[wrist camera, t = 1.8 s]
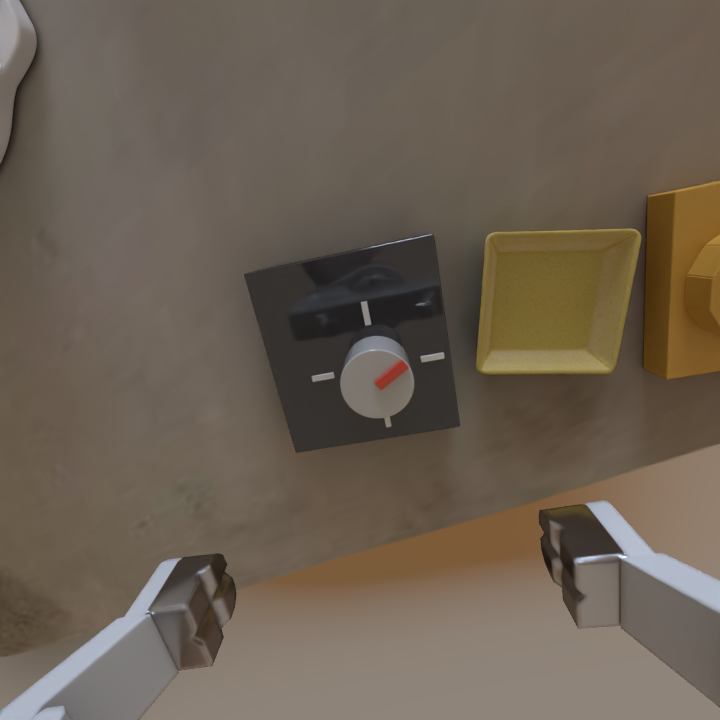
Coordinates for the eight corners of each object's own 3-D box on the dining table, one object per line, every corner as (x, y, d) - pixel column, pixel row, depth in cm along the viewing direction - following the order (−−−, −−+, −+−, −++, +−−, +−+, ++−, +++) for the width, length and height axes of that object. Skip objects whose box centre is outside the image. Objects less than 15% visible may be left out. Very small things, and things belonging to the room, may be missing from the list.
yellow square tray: (467, 364, 26) (475, 375, 24) (477, 232, 23) (486, 231, 21) (596, 364, 25) (615, 374, 23) (621, 229, 23) (644, 228, 21)
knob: (373, 409, 24) (373, 435, 21) (331, 363, 23) (323, 383, 20) (423, 370, 23) (430, 391, 20) (380, 321, 22) (381, 335, 19)
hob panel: (258, 269, 24) (242, 274, 21) (426, 234, 23) (434, 233, 20) (303, 431, 28) (295, 454, 25) (451, 407, 27) (461, 428, 24)
